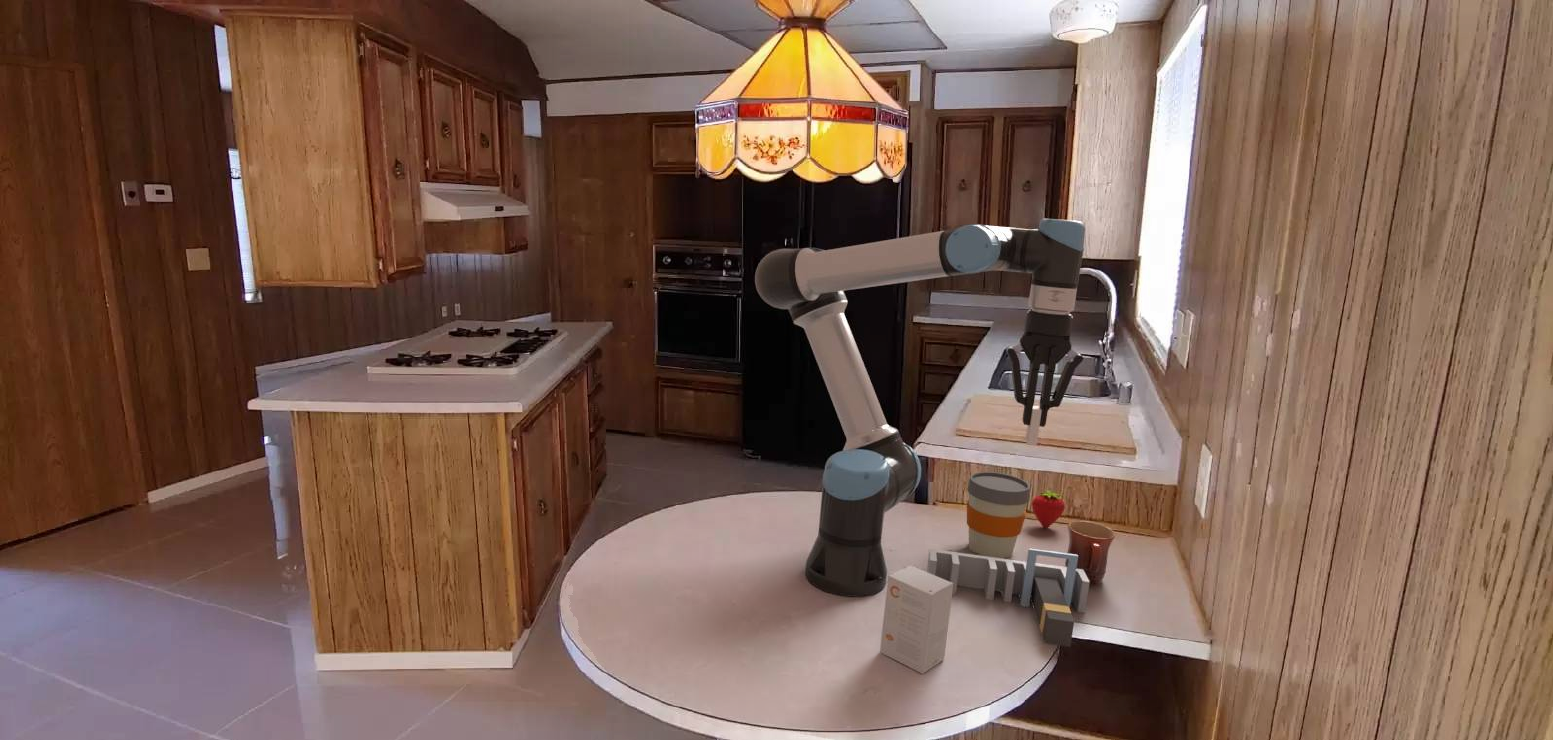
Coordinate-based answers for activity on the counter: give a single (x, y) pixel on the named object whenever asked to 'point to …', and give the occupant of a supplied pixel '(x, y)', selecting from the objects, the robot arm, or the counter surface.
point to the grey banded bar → (1052, 611)
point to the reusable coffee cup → (995, 512)
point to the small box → (916, 618)
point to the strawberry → (1048, 508)
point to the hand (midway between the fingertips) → (1030, 443)
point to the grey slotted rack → (1000, 575)
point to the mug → (1090, 548)
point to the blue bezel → (1031, 567)
